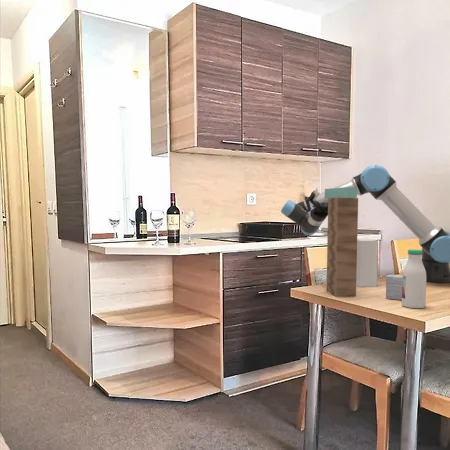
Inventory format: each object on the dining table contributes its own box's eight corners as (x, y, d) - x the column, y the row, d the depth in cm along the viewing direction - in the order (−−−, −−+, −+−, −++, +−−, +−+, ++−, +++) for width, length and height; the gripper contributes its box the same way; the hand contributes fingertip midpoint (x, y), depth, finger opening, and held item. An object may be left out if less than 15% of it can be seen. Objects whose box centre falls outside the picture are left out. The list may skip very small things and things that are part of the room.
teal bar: (324, 198, 184) (324, 188, 184) (333, 198, 184) (333, 189, 184) (346, 197, 162) (347, 187, 162) (356, 198, 163) (357, 187, 163)
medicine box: (409, 299, 164) (410, 276, 163) (407, 301, 160) (408, 278, 159) (388, 296, 168) (388, 274, 167) (385, 298, 164) (386, 276, 164)
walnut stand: (326, 291, 177) (328, 198, 175) (345, 291, 178) (347, 198, 176) (336, 296, 167) (338, 197, 165) (355, 296, 168) (358, 198, 166)
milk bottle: (429, 306, 152) (431, 250, 151) (418, 310, 147) (420, 251, 146) (408, 302, 158) (410, 248, 157) (397, 305, 153) (398, 249, 152)
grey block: (349, 282, 197) (350, 238, 196) (366, 282, 198) (367, 238, 197) (359, 286, 187) (360, 240, 186) (377, 286, 188) (378, 240, 187)
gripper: (345, 221, 197) (364, 198, 178) (292, 222, 193) (306, 197, 175) (342, 207, 200) (361, 182, 182) (290, 207, 197) (303, 182, 178)
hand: (334, 190), depth 178 cm, fingers open, 13 cm apart
